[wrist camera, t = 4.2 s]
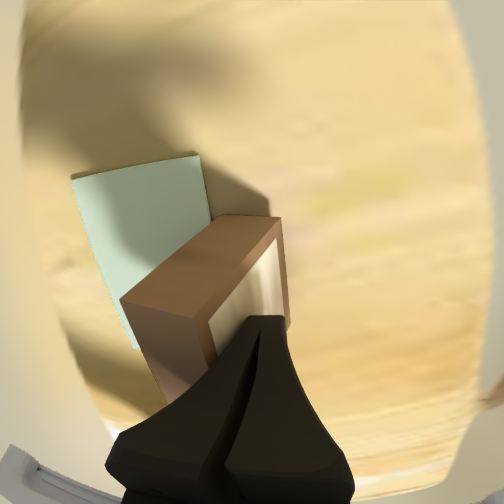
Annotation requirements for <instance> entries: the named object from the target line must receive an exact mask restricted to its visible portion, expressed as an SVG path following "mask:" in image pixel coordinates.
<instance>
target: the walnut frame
mask: <svg viewBox="0 0 504 504" xmlns="http://www.w3.org/2000/svg"><path fill="white" fill-rule="evenodd" d="M119 301H120V303H121V306H122V308H123V311H124V313H125V315H126V318H127V320H128V322H129V325H130V327H131V329H132V331H133V334H134V336H135V338H136V340H137V342H138V345H139V347H140V349H141V351H142V353H143V355H144V357H145V359H146V362H147V364H148V366H149V368H150V370H151V372H152V374H153V376H154V378H155V380H156V382H157V384H158V385H159V387H160V389H161V391H162V393H163V395H164V397H165V399H166V401H167V402H168V404H170V403H172V402H173V401H174V400H176V399H177V398H178V397H179V396H180V395H182V394H183V393H184V392H185V391H186V390H188V389H189V388H190V387H191V386H192V385H193V384H194V383H195V382H196V381H197V380H198V379H199V378H200V377H201V376H202V375H203V374H204V373H205V372H206V371H207V370H208V369H209V368H210V367H211V365H212V364H213V363H214V362H215V361H216V360H217V359H218V357H219V356H220V355H221V354H222V352H223V351H224V350H225V348H226V347H227V346H228V345H229V343H230V342H231V341H232V339H233V338H234V336H235V335H236V333H237V332H238V330H239V329H240V327H241V326H242V324H243V323H244V321H245V320H246V318H247V317H248V316H249V315H283V316H284V317H285V323H286V331H287V330H288V328H289V326H290V324H291V321H290V309H289V297H288V286H287V275H286V265H285V254H284V244H283V234H282V224H281V217H265V216H241V215H220V216H219V217H218V218H216V219H215V220H214V221H213V222H211V223H210V224H209V225H208V226H206V227H205V228H204V229H203V230H201V231H200V232H199V233H198V234H196V235H195V236H194V237H193V238H191V239H190V240H189V241H188V242H186V243H185V244H184V245H183V246H182V247H180V248H179V249H178V250H177V251H176V252H174V253H173V254H172V255H171V256H169V257H168V258H167V259H166V260H165V261H163V262H162V263H161V264H160V265H159V266H157V267H156V268H155V269H154V270H153V271H151V272H150V273H149V274H148V275H147V276H146V277H144V278H143V279H142V280H141V281H140V282H139V283H137V284H136V285H135V286H134V287H133V288H131V289H130V290H129V291H128V292H127V293H126V294H125V295H123V296H122V297H121V298H120V299H119Z"/></svg>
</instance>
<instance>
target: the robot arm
mask: <svg viewBox="0 0 504 504" xmlns="http://www.w3.org/2000/svg"><path fill="white" fill-rule="evenodd" d="M105 467H106V470H107V471H108V472H109V473H110V475H112V476H113V477H114V478H115V479H116V480H117V481H118V482H120V483H121V484H122V485H123V486H124V487H125V488H126V491H125V493H124V496H123V498H120V497H117V496H113V495H111V494H108V493H105V492H102V491H100V490H97V489H95V488H92V487H89V486H87V485H85V484H82V483H80V482H77V481H75V480H72V479H70V478H68V477H66V476H64V475H61V474H59V473H57V472H55V471H53V470H51V469H49V468H47V467H45V466H43V465H41V464H39V462H38V461H37V460H36V459H35V458H34V457H32V456H31V455H29V454H28V453H27V452H25V451H23V450H21V449H20V448H18V447H16V446H14V445H12V444H10V446H9V447H8V449H7V451H6V452H5V454H4V456H3V458H2V459H1V461H0V494H1V495H2V496H3V497H5V498H6V499H7V500H9V501H10V502H12V503H13V504H350V500H351V498H352V496H353V494H354V492H355V484H354V479H353V475H352V473H351V470H350V467H349V465H348V463H347V460H346V458H345V455H344V453H343V451H342V450H341V449H340V448H339V446H338V445H337V444H336V443H335V441H334V440H333V438H332V437H331V436H330V434H329V433H328V431H327V430H326V428H325V427H324V425H323V424H322V422H321V421H320V419H319V417H318V416H317V414H316V412H315V411H314V409H313V407H312V405H311V404H310V402H309V400H308V398H307V396H306V394H305V392H304V390H303V387H302V385H301V383H300V381H299V378H298V376H297V373H296V371H295V368H294V365H293V362H292V359H291V356H290V352H289V349H288V345H287V334H286V323H285V317H284V316H283V315H249V316H248V317H247V318H246V320H245V321H244V323H243V324H242V326H241V327H240V329H239V330H238V332H237V333H236V335H235V336H234V338H233V339H232V341H231V342H230V343H229V345H228V346H227V347H226V348H225V350H224V351H223V352H222V354H221V355H220V356H219V357H218V359H217V360H216V361H215V362H214V363H213V364H212V365H211V367H210V368H209V369H208V370H207V371H206V372H205V373H204V374H203V375H202V376H201V377H200V378H199V379H198V380H197V381H196V382H195V383H194V384H193V385H192V386H191V387H190V388H189V389H188V390H186V391H185V392H184V393H183V394H182V395H180V396H179V397H178V398H177V399H176V400H174V401H173V402H172V403H170V404H169V405H168V406H166V407H165V408H163V409H162V410H160V411H159V412H157V413H156V414H154V415H153V416H151V417H150V418H148V419H146V420H145V421H143V422H141V423H139V424H137V425H135V426H133V427H131V428H129V429H127V430H125V431H123V432H121V433H120V434H119V436H118V437H117V439H116V441H115V443H114V445H113V447H112V449H111V451H110V454H109V456H108V458H107V460H106V463H105ZM472 504H504V487H502V488H500V489H498V490H496V491H494V492H492V493H490V494H489V495H487V496H486V497H485V498H484V499H483V500H481V501H478V502H475V503H472Z"/></svg>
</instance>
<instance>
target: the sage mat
mask: <svg viewBox="0 0 504 504" xmlns="http://www.w3.org/2000/svg"><path fill="white" fill-rule="evenodd" d="M71 184H72V188H73V191H74V195H75V198H76V202H77V205H78V208H79V211H80V215H81V218H82V221H83V224H84V227H85V230H86V233H87V236H88V239H89V242H90V245H91V248H92V251H93V253H94V256H95V259H96V262H97V264H98V267H99V270H100V272H101V275H102V278H103V280H104V283H105V285H106V288H107V290H108V293H109V295H110V297H111V300H112V302H113V305H114V307H115V309H116V312H117V314H118V316H119V319H120V321H121V323H122V325H123V327H124V330H125V332H126V334H127V336H128V338H129V340H130V343H131V345H132V347H133V349H139V350H141V349H140V347H139V345H138V342H137V340H136V338H135V336H134V334H133V331H132V329H131V327H130V325H129V322H128V320H127V318H126V315H125V313H124V311H123V308H122V306H121V303H120V301H119V299H120V298H121V297H122V296H123V295H125V294H126V293H127V292H128V291H129V290H130V289H131V288H133V287H134V286H135V285H136V284H137V283H139V282H140V281H141V280H142V279H143V278H144V277H146V276H147V275H148V274H149V273H150V272H151V271H153V270H154V269H155V268H156V267H157V266H159V265H160V264H161V263H162V262H163V261H165V260H166V259H167V258H168V257H169V256H171V255H172V254H173V253H174V252H176V251H177V250H178V249H179V248H180V247H182V246H183V245H184V244H185V243H186V242H188V241H189V240H190V239H191V238H193V237H194V236H195V235H196V234H198V233H199V232H200V231H201V230H203V229H204V228H205V227H206V226H208V225H209V224H210V223H211V222H212V221H211V215H210V210H209V205H208V200H207V195H206V189H205V184H204V179H203V173H202V168H201V162H200V157H199V155H195V156H188V157H182V158H176V159H169V160H163V161H158V162H152V163H146V164H141V165H136V166H131V167H126V168H121V169H116V170H111V171H106V172H102V173H97V174H93V175H88V176H84V177H80V178H76V179H73V180H71Z"/></svg>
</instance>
